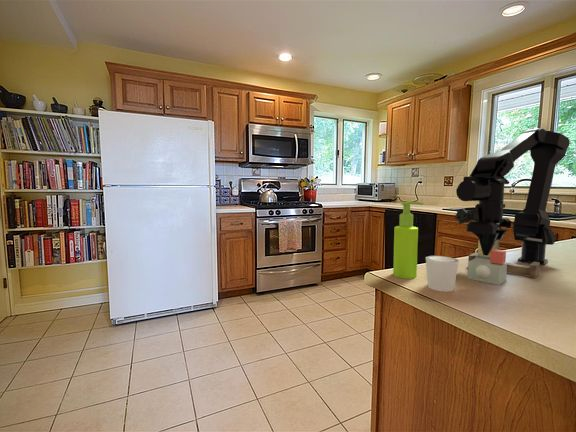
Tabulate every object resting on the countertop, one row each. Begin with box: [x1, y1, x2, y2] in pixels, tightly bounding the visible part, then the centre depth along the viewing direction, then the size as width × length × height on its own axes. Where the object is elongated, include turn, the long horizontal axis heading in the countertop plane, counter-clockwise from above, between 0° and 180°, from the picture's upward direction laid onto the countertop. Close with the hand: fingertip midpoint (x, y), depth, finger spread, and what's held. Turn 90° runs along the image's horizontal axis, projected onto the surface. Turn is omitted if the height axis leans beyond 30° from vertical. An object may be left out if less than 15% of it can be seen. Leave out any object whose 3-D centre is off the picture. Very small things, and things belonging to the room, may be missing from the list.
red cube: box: [490, 249, 507, 264], centre depth 72 cm, size 3×3×3 cm
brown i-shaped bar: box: [467, 252, 541, 279], centre depth 81 cm, size 15×5×3 cm, turn 40°
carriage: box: [475, 239, 500, 260], centre depth 84 cm, size 5×5×8 cm
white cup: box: [425, 255, 460, 293], centre depth 68 cm, size 7×7×7 cm
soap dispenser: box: [392, 201, 424, 279], centre depth 77 cm, size 6×7×20 cm
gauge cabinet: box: [467, 258, 508, 286], centre depth 74 cm, size 6×7×4 cm
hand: (488, 254), depth 84 cm, fingers closed on carriage, 4 cm apart
